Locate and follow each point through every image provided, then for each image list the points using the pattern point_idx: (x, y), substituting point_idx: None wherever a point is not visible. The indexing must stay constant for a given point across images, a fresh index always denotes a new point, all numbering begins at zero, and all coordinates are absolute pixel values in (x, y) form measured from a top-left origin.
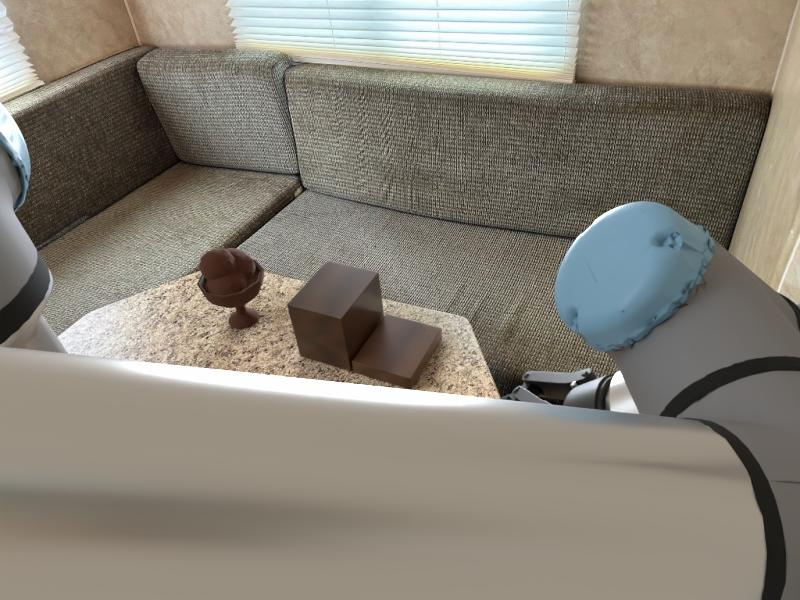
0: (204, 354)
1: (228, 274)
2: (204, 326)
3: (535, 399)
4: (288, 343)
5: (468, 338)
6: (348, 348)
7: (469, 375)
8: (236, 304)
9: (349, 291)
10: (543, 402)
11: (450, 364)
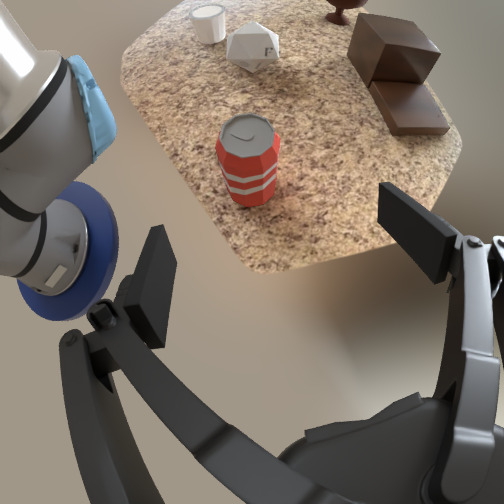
0: (295, 17)
1: None
2: (312, 8)
3: (485, 310)
4: (347, 45)
5: (458, 154)
6: (377, 70)
7: (436, 172)
8: (333, 1)
9: (409, 40)
10: (493, 364)
11: (433, 152)
